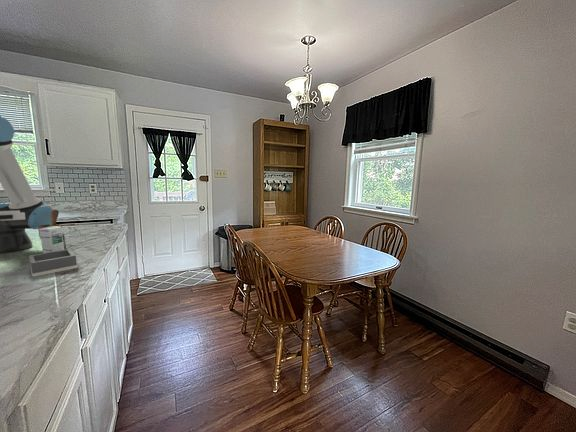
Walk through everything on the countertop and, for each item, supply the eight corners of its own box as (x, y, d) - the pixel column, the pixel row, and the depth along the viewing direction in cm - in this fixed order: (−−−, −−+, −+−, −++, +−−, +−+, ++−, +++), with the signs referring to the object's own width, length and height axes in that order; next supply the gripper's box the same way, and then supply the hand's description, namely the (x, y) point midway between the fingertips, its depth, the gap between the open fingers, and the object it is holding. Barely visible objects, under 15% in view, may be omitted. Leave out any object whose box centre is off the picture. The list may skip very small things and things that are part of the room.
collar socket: (30, 268, 103) (28, 255, 102) (71, 260, 112) (70, 249, 112) (32, 276, 94) (30, 263, 93) (77, 267, 104) (76, 255, 103)
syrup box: (54, 261, 111) (49, 228, 108) (43, 260, 112) (38, 228, 110) (67, 257, 116) (63, 226, 114) (57, 256, 117) (53, 225, 115)
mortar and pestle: (42, 249, 128) (36, 210, 124) (65, 246, 133) (60, 208, 130) (41, 255, 119) (34, 213, 116) (65, 252, 125) (60, 211, 121)
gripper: (-63, 226, 96) (18, 221, 113) (-67, 233, 81) (28, 226, 98) (-65, 206, 96) (17, 204, 112) (-70, 210, 80) (26, 207, 97)
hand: (22, 214), depth 105 cm, fingers open, 13 cm apart
